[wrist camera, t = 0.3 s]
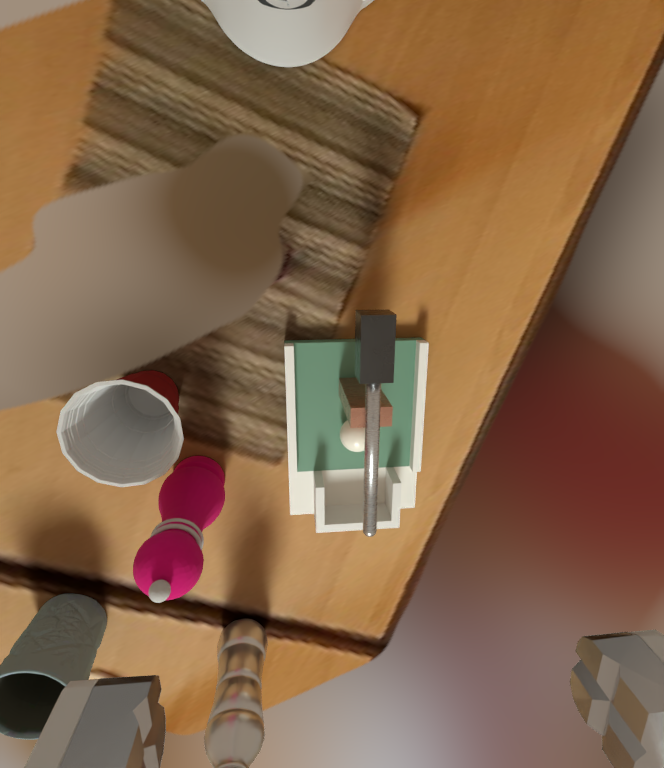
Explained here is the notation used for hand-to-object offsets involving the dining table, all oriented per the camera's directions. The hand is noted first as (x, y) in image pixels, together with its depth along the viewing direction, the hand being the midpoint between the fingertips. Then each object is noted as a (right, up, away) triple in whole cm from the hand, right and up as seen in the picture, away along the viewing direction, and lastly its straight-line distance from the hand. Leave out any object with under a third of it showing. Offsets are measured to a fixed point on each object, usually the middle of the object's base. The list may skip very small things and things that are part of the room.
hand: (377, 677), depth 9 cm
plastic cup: (-21, +4, +44) cm, 49 cm away
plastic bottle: (-13, -29, +56) cm, 64 cm away
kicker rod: (+2, +4, +44) cm, 45 cm away
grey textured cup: (-35, -26, +52) cm, 68 cm away
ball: (+2, 0, +44) cm, 44 cm away
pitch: (+2, 0, +48) cm, 48 cm away
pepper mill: (-17, -6, +48) cm, 51 cm away
